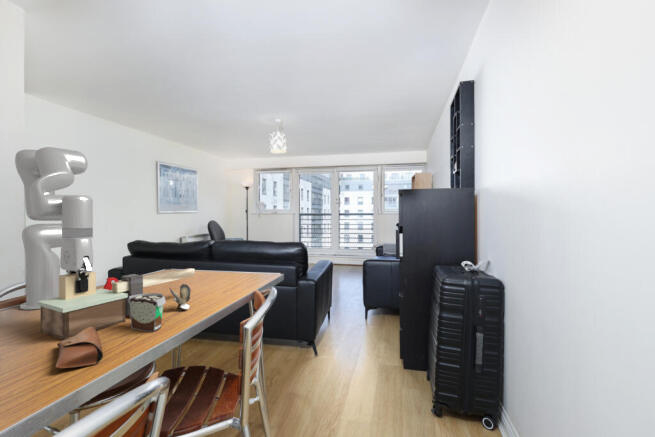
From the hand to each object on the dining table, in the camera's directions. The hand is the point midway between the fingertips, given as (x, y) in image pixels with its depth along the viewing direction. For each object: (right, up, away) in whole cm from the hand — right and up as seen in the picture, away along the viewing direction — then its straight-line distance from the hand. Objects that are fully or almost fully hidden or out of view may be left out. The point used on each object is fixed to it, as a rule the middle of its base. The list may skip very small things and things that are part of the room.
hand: (77, 290), depth 93 cm
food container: (+25, -11, -2) cm, 27 cm away
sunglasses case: (+16, -12, -21) cm, 29 cm away
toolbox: (+5, -11, +1) cm, 12 cm away
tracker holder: (-7, -11, +25) cm, 28 cm away
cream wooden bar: (+16, -1, +17) cm, 23 cm away
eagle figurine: (+26, -11, +14) cm, 32 cm away
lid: (+4, -3, -2) cm, 5 cm away
